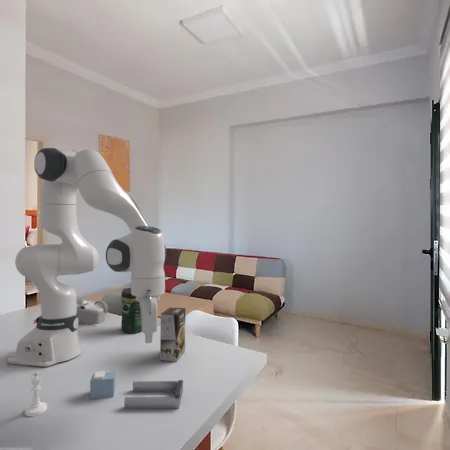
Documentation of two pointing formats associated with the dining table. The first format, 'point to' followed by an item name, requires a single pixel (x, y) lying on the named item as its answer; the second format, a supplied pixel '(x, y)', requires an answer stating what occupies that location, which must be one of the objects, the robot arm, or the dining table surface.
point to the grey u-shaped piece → (155, 401)
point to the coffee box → (172, 334)
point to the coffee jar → (130, 313)
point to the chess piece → (36, 399)
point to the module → (102, 384)
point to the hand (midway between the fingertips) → (148, 338)
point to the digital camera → (92, 312)
